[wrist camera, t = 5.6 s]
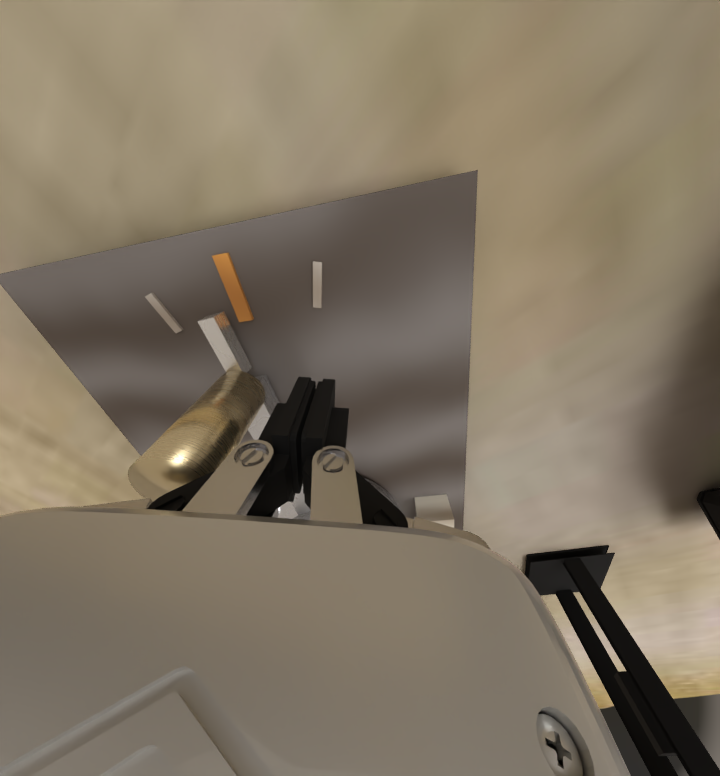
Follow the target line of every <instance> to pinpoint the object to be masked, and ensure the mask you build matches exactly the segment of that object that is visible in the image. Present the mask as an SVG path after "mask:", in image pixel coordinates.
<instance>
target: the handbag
mask: <svg viewBox="0 0 720 776" xmlns="http://www.w3.org/2000/svg"><path fill="white" fill-rule="evenodd" d="M608 548H609V545H607V546H598V547H590V548H581V549H572V550H564V551H555V552H546V553H537V554H529V555H527V559H526V569H525V576H526V577H527V578H528V579H529V581H530V582H531V583H532V584H533V586H534V587H535V589H536V590H537V592H538V593H539V595H549V594H556V596H557V598H558V599H559V601H560V603H561V605H562V607H563V609H564V611H565V613H566V615H567V617H568V619H569V620H570V622H571V624H572V626H573V628H574V630H575V632H576V634H577V636H578V638H579V639H580V641H581V643H582V645H583V647H584V649H585V651H586V653H587V655H588V657H589V658H590V660H591V662H592V664H593V666H594V668H595V670H596V672H597V674H598V676H599V677H600V679H601V681H602V683H603V685H604V687H605V689H606V691H607V693H608V695H609V696H610V698H611V700H612V702H613V704H614V706H615V708H616V710H617V712H618V714H619V716H620V717H621V719H622V721H623V723H624V725H625V727H626V729H627V731H628V733H629V735H630V736H631V738H632V740H633V742H634V744H635V746H636V748H637V750H638V752H639V754H640V755H641V757H642V759H643V761H644V763H645V765H646V767H647V769H648V771H649V772H650V774H651V776H678V775H677V773H676V771H675V770H674V768H673V766H672V764H671V763H670V761H669V759H668V758H667V756H678V758H679V760H680V761H681V763H682V764H683V766H684V768H685V769H686V771H687V773H688V774H689V776H720V770H719V768H718V767H717V765H716V764H715V762H714V761H713V759H712V758H711V756H710V754H709V753H708V751H707V750H706V749H705V747H704V745H703V744H702V742H701V741H700V739H699V738H698V737H697V735H696V733H695V732H694V730H693V729H692V727H691V726H690V724H689V723H688V721H687V720H686V718H685V717H684V715H683V714H682V712H681V710H680V709H679V707H678V706H677V704H676V703H675V701H674V700H673V698H672V697H671V695H670V694H669V692H668V691H667V689H666V688H665V686H664V685H663V683H662V682H661V680H660V679H659V677H658V676H657V674H656V673H655V671H654V669H653V668H652V666H651V665H650V663H649V662H648V660H647V659H646V657H645V656H644V654H643V653H642V651H641V650H640V648H639V647H638V645H637V644H636V642H635V641H634V639H633V638H632V636H631V635H630V633H629V632H628V630H627V628H626V627H625V625H624V624H623V622H622V621H621V619H620V618H619V616H618V615H617V613H616V612H615V610H614V609H613V607H612V606H611V604H610V603H609V601H608V600H607V598H606V597H605V595H604V594H603V592H602V591H601V589H600V588H601V586H602V583H603V581H604V579H605V576H606V574H607V571H608V569H609V566H610V564H611V561H612V559H613V557H614V554H615V553H607V550H608ZM573 592H580V593H581V595H582V597H583V598H584V600H585V602H586V603H587V605H588V607H589V609H590V610H591V612H592V614H593V615H594V617H595V619H596V620H597V622H598V624H599V625H600V627H601V629H602V630H603V632H604V634H605V635H606V637H607V639H608V640H609V642H610V644H611V645H612V647H613V649H614V650H615V652H616V654H617V656H618V657H619V659H620V661H621V662H622V664H623V666H624V667H625V669H626V671H623V672H618V671H617V669H616V667H615V665H614V664H613V662H612V660H611V658H610V657H609V655H608V653H607V651H606V650H605V648H604V646H603V644H602V643H601V641H600V639H599V638H598V636H597V634H596V632H595V631H594V629H593V627H592V625H591V624H590V622H589V620H588V618H587V617H586V615H585V613H584V611H583V610H582V608H581V606H580V604H579V603H578V601H577V599H576V598H575V596H574V594H573Z"/></svg>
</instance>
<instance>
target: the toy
mask: <svg viewBox="0 0 720 776" xmlns="http://www.w3.org/2000/svg"><path fill="white" fill-rule="evenodd" d="M697 501H698V503H699V505H700V506H701V508H702V510H703V512H704V513H705V515H706V517H707V519H708V520H709V522H710V524H711V526H712V527H713V529H714V531H715V533H716V534H717V536H718V538H719V540H720V488H717V489H712V490H707V491H702V492H700V493H699V496H698V498H697Z"/></svg>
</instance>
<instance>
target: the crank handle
mask: <svg viewBox="0 0 720 776" xmlns="http://www.w3.org/2000/svg"><path fill="white" fill-rule="evenodd" d="M197 322H198V324H199V325H200V327H201V329H202V331H203V332H204V334H205V336H206V338H207V339H208V341H209V343H210V345H211V347H212V348H213V350H214V352H215V354H216V355H217V357H218V359H219V361H220V362H221V364H222V366H223V368H224V370H225V371H226V373H224V374H223V375H222V376H221V377H220V378H219V379H218V380H217V381H216V382H215V383H214V384H213V385H212V386H211V387H210V388H209V389H208V390H207V391H206V392H205V393H204V394H203V395H202V396H201V397H200V398H199V399H198V400H197V401H196V402H195V403H194V404H193V405H192V406H191V407H190V408H189V409H188V410H187V411H186V412H185V413H184V414H183V415H182V416H181V417H180V418H179V419H178V420H177V421H176V422H175V423H174V424H173V425H172V426H171V427H170V428H169V429H168V430H167V431H166V432H165V433H164V434H163V435H162V436H161V437H160V438H159V439H158V440H157V441H156V442H155V443H154V444H153V445H152V446H151V447H150V448H149V449H148V450H147V451H146V452H145V453H144V454H143V455H142V456H141V457H140V458H139V459H138V460H137V461H136V462H135V463H134V464H133V465H132V466H131V467H130V468H129V471H128V478H129V481H130V483H131V485H132V486H133V488H134V489H135V490H136V491H137V492H138V493H139V494H140V495H142V496H143V497H144V498H146V499H147V498H151V500H152V501H155V500H156V499H157V498H159V497H161V496H162V495H164V494H166V493H168V492H170V491H172V490H174V489H176V488H178V487H181V486H183V485H185V484H187V483H189V482H191V481H193V480H195V479H198V478H200V477H202V476H204V475H206V474H208V473H210V472H212V471H214V470H216V469H217V468H218V467H219V466H220V465H221V463H222V462H223V461H224V460H225V459H226V457H227V456H228V455H229V454H230V453H231V451H232V450H233V449H234V448H235V447H237V446H238V445H239V444H240V442H241V441H242V439H243V437H244V435H245V434H246V432H247V430H248V431H249V433H250V434H251V436H252V438H253V439H254V440H258V439H259V437H260V435H261V433H262V431H263V429H264V427H265V425H266V423H267V422H268V420H269V418H270V416H271V414H272V412H273V410H274V408H275V406H276V404H277V403H279V401H278V399H277V397H276V395H275V392H274V390H273V388H272V386H271V384H270V382H269V380H268V378H267V376H266V375H262V376H258V377H254V376H253V375H251V374H249V373H247V372H248V371H249V370H250V369H251V368H252V366H251V364H250V362H249V360H248V358H247V356H246V354H245V352H244V350H243V348H242V346H241V344H240V342H239V340H238V338H237V336H236V334H235V332H234V330H233V328H232V326H231V324H230V322H229V320H228V318H227V316H226V314H225V313H224V312H220V313H216V314H212V315H209V316H207V317H205V318H203V319H201V320H199V321H197ZM365 479H366V478H365ZM366 480H367V481H368V482H369V483H370V484H371V485H373V486H374V487H375V488H376V489H377V490H378V491H379V492H380V493H381V494H383V495H384V496H385V497H386V498H387V499H388V500H389V501H390V502H392V503H393V504H394V505H395V506H396V507H397V508H398V509H399V507H398V505H397V503H396V501H395V500H394V498H393V497H392V496H391V495H390V494H389V493H388V492H387V491H386V490H385V489H383V488H382V487H381V486H379V485H378V484H376V483H375V482H373V481H371V480H368V479H366ZM399 510H400V509H399ZM310 512H311V510H310V508H309V507H308V506H307V505H306V504H305V498H304V494H303V484H302V488H301V492H300V494H296V493H295V497H294V501H293V502H286V503H285V504H283V505H282V506H280V513H279V515H278V518H289V519H303V520H310Z"/></svg>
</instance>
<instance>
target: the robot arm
mask: <svg viewBox="0 0 720 776" xmlns="http://www.w3.org/2000/svg"><path fill="white" fill-rule="evenodd" d="M348 418H349V408H338V407H335V379H323V381H318V384H317V387H316V382H315V381H312V380H311V377H298V379H297V381H296V383H295V385H294V387H293V389H292V391H291V394H290V396H289V398H288V400H287V402H286V403H277V404H276V406H275V408H274V410H273V412H272V414H271V416H270V418H269V420H268V422H267V423H266V425H265V427H264V429H263V431H262V433H261V435H260V437H259V439H258V440H250V441H247V442H244V443H241V444H240V445H238V446H237V447H235V448H234V449H233V450H232V451H231V453H230V454H229V455H228V456H227V457H226V459H225V460H224V461H223V462H222V463H221V465H220V466H219V467H218V468H217V469H216V470H214V471H212V472H210V473H208V474H206V475H204V476H202V477H200V478H198V479H195V480H193V481H191V482H189V483H187V484H185V485H183V486H181V487H178V488H176V489H174V490H172V491H170V492H168V493H166V494H164V495H162V496H161V497H159V498H157V499H156V500H155V501H152V500H151V498H147V499H139V500H131V501H123V502H115V503H107V504H99V505H90V506H83V507H53V508H42V509H34V510H27V511H19V512H14V513H10V514H5V515H1V516H0V776H630V774H629V772H628V770H627V767H626V765H625V763H624V761H623V759H622V756H621V754H620V752H619V750H618V748H617V746H616V744H615V741H614V739H613V737H612V735H611V733H610V730H609V728H608V726H607V724H606V722H605V720H604V718H603V715H602V713H601V711H600V709H599V707H598V705H597V703H596V701H595V699H594V697H593V695H592V693H591V691H590V689H589V687H588V685H587V683H586V680H585V678H584V676H583V674H582V672H581V670H580V668H579V666H578V664H577V662H576V660H575V658H574V656H573V654H572V652H571V650H570V648H569V646H568V644H567V643H566V641H565V639H564V637H563V635H562V633H561V631H560V629H559V627H558V625H557V624H556V622H555V620H554V618H553V616H552V615H551V613H550V611H549V609H548V608H547V606H546V604H545V603H544V601H543V599H542V598H541V596H540V595H539V593H538V592H537V590H536V589H535V587H534V586H533V584H532V583H531V582H530V581H529V579H528V578H527V577H526V576H525V575H524V574H523V573H522V572H521V570H520V569H518V568H517V567H516V566H515V565H514V564H512V563H511V562H510V561H508V560H507V559H505V558H504V557H502V556H501V555H499V554H497V553H495V552H494V551H492V550H491V549H490V548H489V547H488V545H487V544H486V542H485V541H483V540H482V539H481V538H480V537H479V536H477V535H475V534H472V533H470V532H467V531H463V530H460V529H456V528H453V527H450V526H446V525H443V524H439V523H436V522H432V521H429V520H426V519H422V518H419V517H415V518H414V519H411V518H407V517H405V515H404V514H403V513H402V512H401V511H400V510H399V509H398V508H397V507H396V506H395V505H394V504H393V503H392V502H390V501H389V500H388V499H387V498H386V497H385V496H384V495H383V494H381V493H380V492H379V491H378V490H377V489H376V488H375V487H374V486H373V485H371V484H370V483H369V482H368V481H367V480H366V479H365V478H364V477H362V476H361V475H360V474H359V473H358V472H357V471H356V470H355V465H354V459H353V456H352V454H351V453H350V452H349V451H348V450H347V449H346V442H347V431H348ZM302 484H303V494H304V498H305V504H306V505H307V506H308V507H309V508H310V510H311V512H310V520H303V519H289V518H278V515H279V513H280V506H282V505H283V504H285V503H286V502H293V501H294V497H295V493H296V494H300V492H301V488H302ZM538 713H539V714H538Z"/></svg>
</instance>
